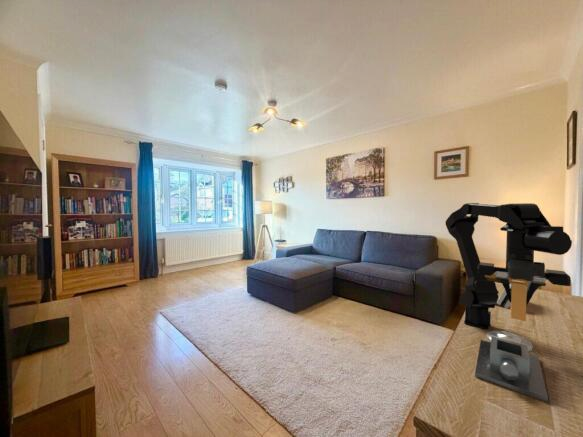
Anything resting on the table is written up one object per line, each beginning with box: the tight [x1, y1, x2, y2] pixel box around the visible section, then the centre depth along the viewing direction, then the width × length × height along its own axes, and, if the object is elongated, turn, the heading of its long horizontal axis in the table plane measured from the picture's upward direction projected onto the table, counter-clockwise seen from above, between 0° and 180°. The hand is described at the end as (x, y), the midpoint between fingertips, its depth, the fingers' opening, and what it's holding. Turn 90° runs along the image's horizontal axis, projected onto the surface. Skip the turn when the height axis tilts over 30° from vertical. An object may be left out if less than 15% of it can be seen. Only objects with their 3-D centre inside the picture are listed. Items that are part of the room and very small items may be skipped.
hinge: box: [496, 283, 511, 309], centre depth 103 cm, size 17×5×10 cm, turn 126°
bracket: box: [474, 330, 549, 403], centre depth 62 cm, size 12×20×6 cm, turn 139°
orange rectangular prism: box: [510, 279, 528, 322], centre depth 69 cm, size 3×4×10 cm
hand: (518, 303), depth 69 cm, fingers closed on orange rectangular prism, 3 cm apart
